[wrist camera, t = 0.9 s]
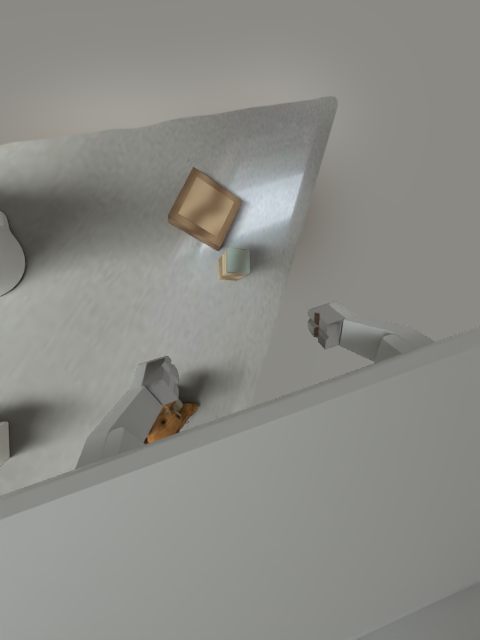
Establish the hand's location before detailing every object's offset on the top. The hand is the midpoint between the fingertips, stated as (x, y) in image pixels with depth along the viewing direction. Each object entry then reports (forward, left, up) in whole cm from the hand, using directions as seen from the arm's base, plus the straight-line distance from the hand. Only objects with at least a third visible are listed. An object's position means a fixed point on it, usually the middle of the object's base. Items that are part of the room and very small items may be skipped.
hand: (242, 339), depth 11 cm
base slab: (-8, +23, -35) cm, 42 cm away
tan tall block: (+2, +14, -35) cm, 37 cm away
